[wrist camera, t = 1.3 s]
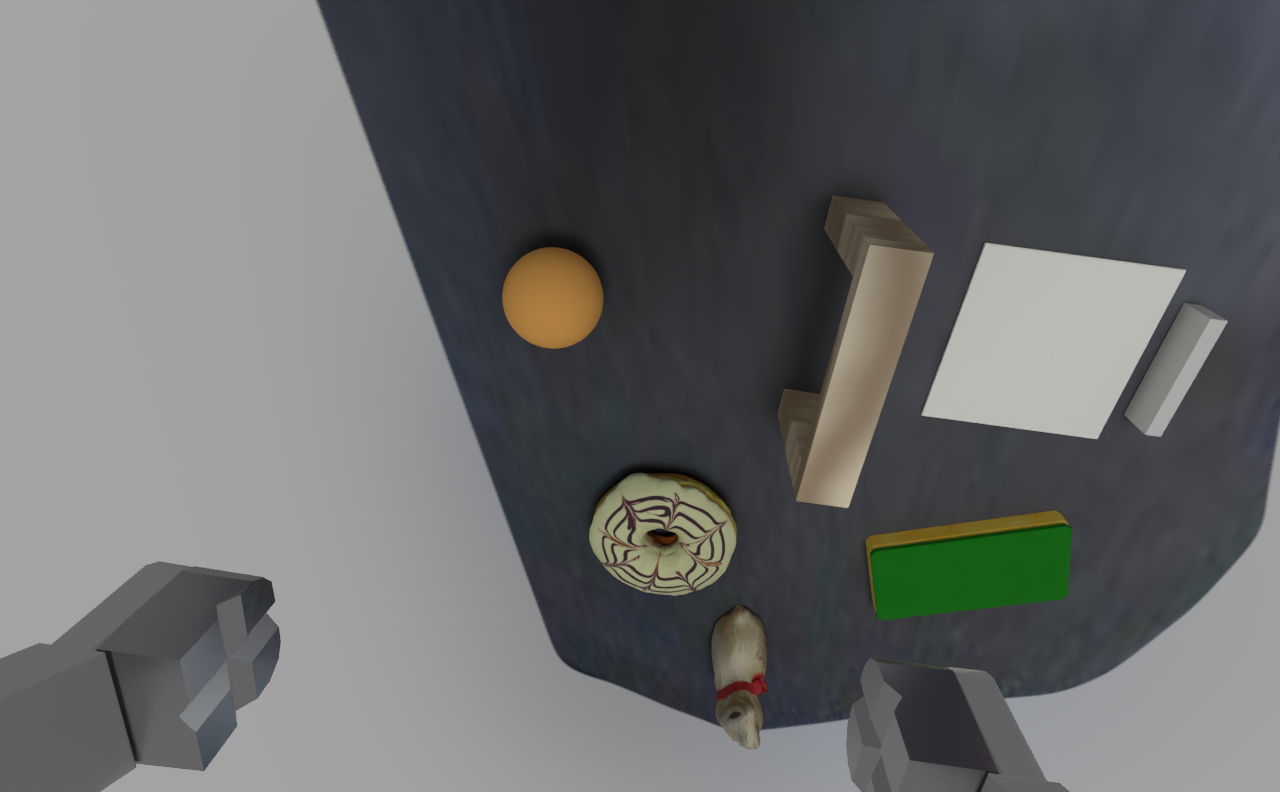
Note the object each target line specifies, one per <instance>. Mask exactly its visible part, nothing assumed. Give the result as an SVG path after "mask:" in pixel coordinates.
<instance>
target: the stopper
mask: <svg viewBox="0 0 1280 792" xmlns="http://www.w3.org/2000/svg"><path fill="white" fill-rule="evenodd" d="M1227 322H1228V321H1227V320H1225V319H1224V318H1222V317H1220V316H1218V315H1217V314H1215V313H1213V312H1212V311H1210V310H1208V309H1206V308H1205V307H1203V306H1201V305H1197V304H1189V303H1184V304H1183V306H1182V308H1181V309H1180V311H1179V313H1178V315H1177V317H1176V319H1175V321H1174V322H1173V324H1172V326H1171V328H1170V330H1169V332H1168V333H1167V335H1166V337H1165V339H1164V341H1163V343H1162V345H1161V346H1160V348H1159V350H1158V352H1157V354H1156V356H1155V358H1154V359H1153V361H1152V363H1151V365H1150V367H1149V369H1148V371H1147V372H1146V374H1145V376H1144V378H1143V380H1142V382H1141V383H1140V385H1139V387H1138V389H1137V391H1136V393H1135V395H1134V396H1133V398H1132V400H1131V402H1130V404H1129V406H1128V408H1127V409H1126V411H1125V413H1124V415H1125V416H1126V417H1127V418H1128V419H1129V420H1130V421H1131V422H1132V423H1133V424H1134V425H1135V426H1137V427H1138V428H1139V429H1140V430H1141V431H1142V432H1143V433H1144V434H1145V435H1152V436H1159V437H1161V435H1162V434H1163V432H1164V430H1165V429H1166V427H1167V425H1168V423H1169V422H1170V420H1171V418H1172V417H1173V415H1174V413H1175V411H1176V410H1177V408H1178V406H1179V404H1180V403H1181V401H1182V399H1183V398H1184V396H1185V394H1186V392H1187V391H1188V389H1189V387H1190V386H1191V384H1192V382H1193V380H1194V379H1195V377H1196V375H1197V374H1198V372H1199V370H1200V368H1201V367H1202V365H1203V363H1204V361H1205V360H1206V358H1207V356H1208V355H1209V353H1210V351H1211V349H1212V348H1213V346H1214V344H1215V343H1216V341H1217V339H1218V337H1219V336H1220V334H1221V332H1222V331H1223V329H1224V327H1225V325H1226V324H1227Z"/></svg>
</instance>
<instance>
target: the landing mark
mask: <svg viewBox="0 0 1280 792" xmlns="http://www.w3.org/2000/svg"><path fill="white" fill-rule="evenodd" d="M1185 272H1186V270H1185V269H1179V268H1171V267H1164V266H1156V265H1149V264H1142V263H1134V262H1127V261H1120V260H1112V259H1105V258H1097V257H1090V256H1083V255H1075V254H1068V253H1060V252H1053V251H1046V250H1038V249H1031V248H1024V247H1016V246H1009V245H1001V244H994V243H987V242H984V245H983V248H982V250H981V253H980V256H979V258H978V261H977V264H976V267H975V269H974V272H973V275H972V277H971V280H970V283H969V285H968V288H967V291H966V293H965V296H964V299H963V302H962V304H961V307H960V310H959V312H958V315H957V318H956V320H955V323H954V326H953V328H952V331H951V334H950V337H949V339H948V342H947V345H946V347H945V350H944V353H943V355H942V358H941V361H940V364H939V366H938V369H937V372H936V374H935V377H934V380H933V382H932V385H931V388H930V390H929V393H928V396H927V399H926V401H925V404H924V407H923V409H922V412H921V415H922V416H930V417H937V418H944V419H952V420H959V421H967V422H974V423H981V424H989V425H996V426H1004V427H1011V428H1018V429H1026V430H1033V431H1041V432H1048V433H1056V434H1063V435H1070V436H1078V437H1085V438H1093V439H1098V437H1099V435H1100V433H1101V431H1102V429H1103V427H1104V425H1105V423H1106V422H1107V420H1108V418H1109V416H1110V414H1111V412H1112V410H1113V408H1114V406H1115V404H1116V403H1117V401H1118V399H1119V397H1120V395H1121V393H1122V391H1123V389H1124V387H1125V386H1126V384H1127V382H1128V380H1129V378H1130V376H1131V374H1132V372H1133V370H1134V369H1135V367H1136V365H1137V363H1138V361H1139V359H1140V357H1141V355H1142V353H1143V352H1144V350H1145V348H1146V346H1147V344H1148V342H1149V340H1150V338H1151V336H1152V335H1153V333H1154V331H1155V329H1156V327H1157V325H1158V323H1159V321H1160V319H1161V317H1162V316H1163V314H1164V312H1165V310H1166V308H1167V306H1168V304H1169V302H1170V300H1171V299H1172V297H1173V295H1174V293H1175V291H1176V289H1177V287H1178V285H1179V283H1180V282H1181V280H1182V278H1183V276H1184V274H1185Z"/></svg>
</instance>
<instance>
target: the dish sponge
mask: <svg viewBox="0 0 1280 792" xmlns="http://www.w3.org/2000/svg"><path fill="white" fill-rule="evenodd" d="M1071 540H1072V528H1071V527H1070V526H1069V525H1068V523H1067V521H1066V520H1065V519H1064V517H1063V516H1062V515H1061V513H1059V512H1058V511H1056V510H1055V511H1048V512H1040V513H1033V514H1026V515H1019V516H1011V517H1004V518H997V519H989V520H982V521H975V522H967V523H960V524H953V525H946V526H938V527H931V528H924V529H916V530H909V531H902V532H894V533H887V534H880V535H873V536H869V537H868V538H867V539H866V549H867V558H868V567H869V576H870V585H871V594H872V602H873V605H874V608H875V611H876V615H877V618H879V619H881V620H889V619H898V618H906V617H915V616H923V615H932V614H941V613H949V612H958V611H966V610H975V609H983V608H992V607H1000V606H1009V605H1018V604H1026V603H1035V602H1043V601H1052V600H1060V599H1064V598H1065V597H1066V596H1068V585H1069V570H1070V555H1071Z"/></svg>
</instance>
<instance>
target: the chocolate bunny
mask: <svg viewBox="0 0 1280 792" xmlns="http://www.w3.org/2000/svg"><path fill="white" fill-rule="evenodd" d="M711 644H712V663H713V668H714V674H715V680H714V682H715V687H716V690H717V705H716V716H717V720H718V722H719V723H720V725H721V726H722V727H723V728H724V730H725V731H726V732H727V734H728V735H729V736H730V737H731V738H732V740H734V741H738V742H739V744H740V746H742V747H745V748H747V749H757V748H758V747H759V746H760V738H759V733H760V730H761V728H762V722H763V713H762V708H761V706H760V702H759V699H758V697H759V694H761V693H762V691H763V692H768V685H767V683H766V682H764V681H763V679H764V676H765V671H766V664H767V645H766V637H765V630H764V626H763V624H762V622H761V620H760V619H759V618H758V617H757V616H756V615H754V614H753V613H752V612H751V611H749V610H748V609H746V608H745V607H744V606H742V605H737V606H736V607H735V608H734V609H733V610H732V611H731V612H730V613H727V614H726V615H724V616H722V617H721V618H720V619H719V620H718V621H717V622H716V624H715V627H714V631H713V634H712V642H711Z"/></svg>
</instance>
